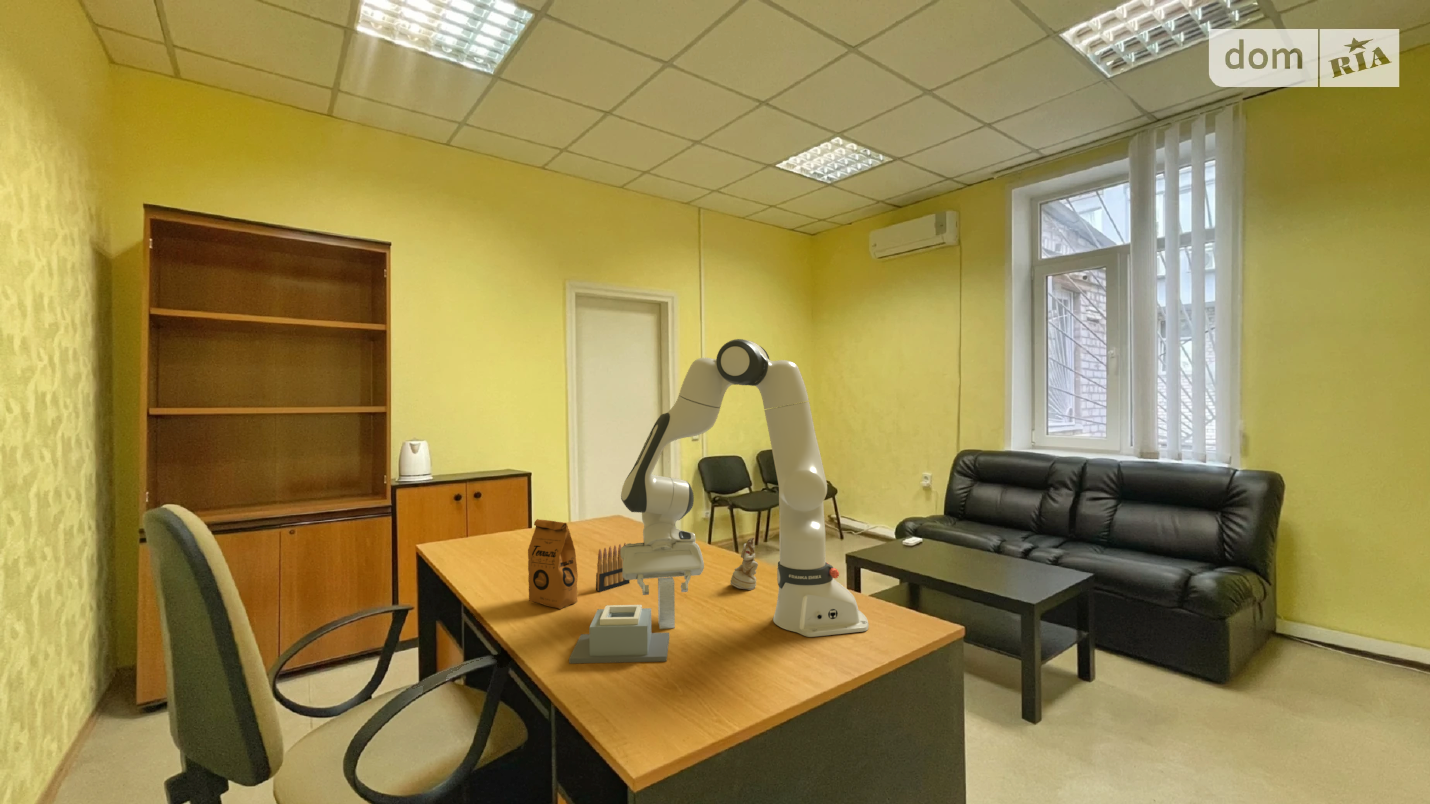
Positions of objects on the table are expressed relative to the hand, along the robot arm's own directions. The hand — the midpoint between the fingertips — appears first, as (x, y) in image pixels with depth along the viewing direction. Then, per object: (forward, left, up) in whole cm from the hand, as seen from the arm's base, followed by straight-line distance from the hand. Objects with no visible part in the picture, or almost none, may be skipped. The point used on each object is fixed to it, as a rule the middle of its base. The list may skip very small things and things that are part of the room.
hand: (665, 592), depth 137 cm
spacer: (+9, +13, -1) cm, 16 cm away
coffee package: (+31, -16, -8) cm, 36 cm away
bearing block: (+9, +13, -8) cm, 18 cm away
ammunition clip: (+17, -28, -8) cm, 34 cm away
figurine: (-21, -26, -8) cm, 35 cm away
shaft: (0, +1, -8) cm, 8 cm away
